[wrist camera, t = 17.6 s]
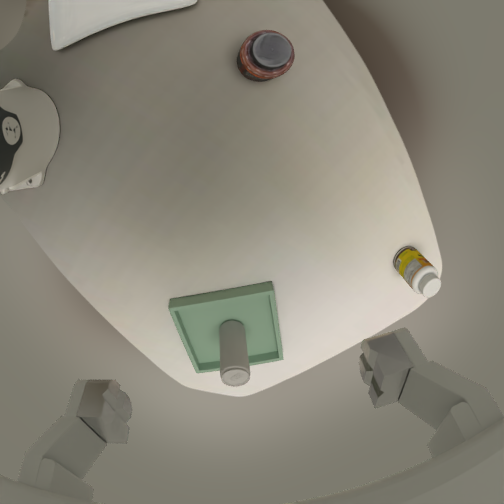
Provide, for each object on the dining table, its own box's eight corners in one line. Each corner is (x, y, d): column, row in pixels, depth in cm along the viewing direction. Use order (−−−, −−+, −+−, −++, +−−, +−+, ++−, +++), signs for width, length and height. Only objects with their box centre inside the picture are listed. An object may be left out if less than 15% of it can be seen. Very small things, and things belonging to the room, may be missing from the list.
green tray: (196, 364, 62) (196, 373, 59) (170, 299, 53) (168, 308, 50) (281, 350, 62) (283, 359, 59) (271, 281, 53) (273, 290, 51)
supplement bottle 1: (282, 80, 37) (303, 76, 27) (238, 83, 37) (245, 79, 27) (278, 41, 34) (298, 24, 24) (234, 43, 34) (239, 26, 24)
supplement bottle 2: (420, 256, 54) (448, 286, 45) (399, 275, 55) (425, 307, 47) (409, 239, 52) (439, 268, 43) (387, 258, 53) (414, 290, 44)
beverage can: (249, 328, 57) (256, 378, 46) (230, 340, 58) (234, 390, 48) (233, 314, 55) (237, 365, 44) (213, 327, 56) (214, 378, 46)
